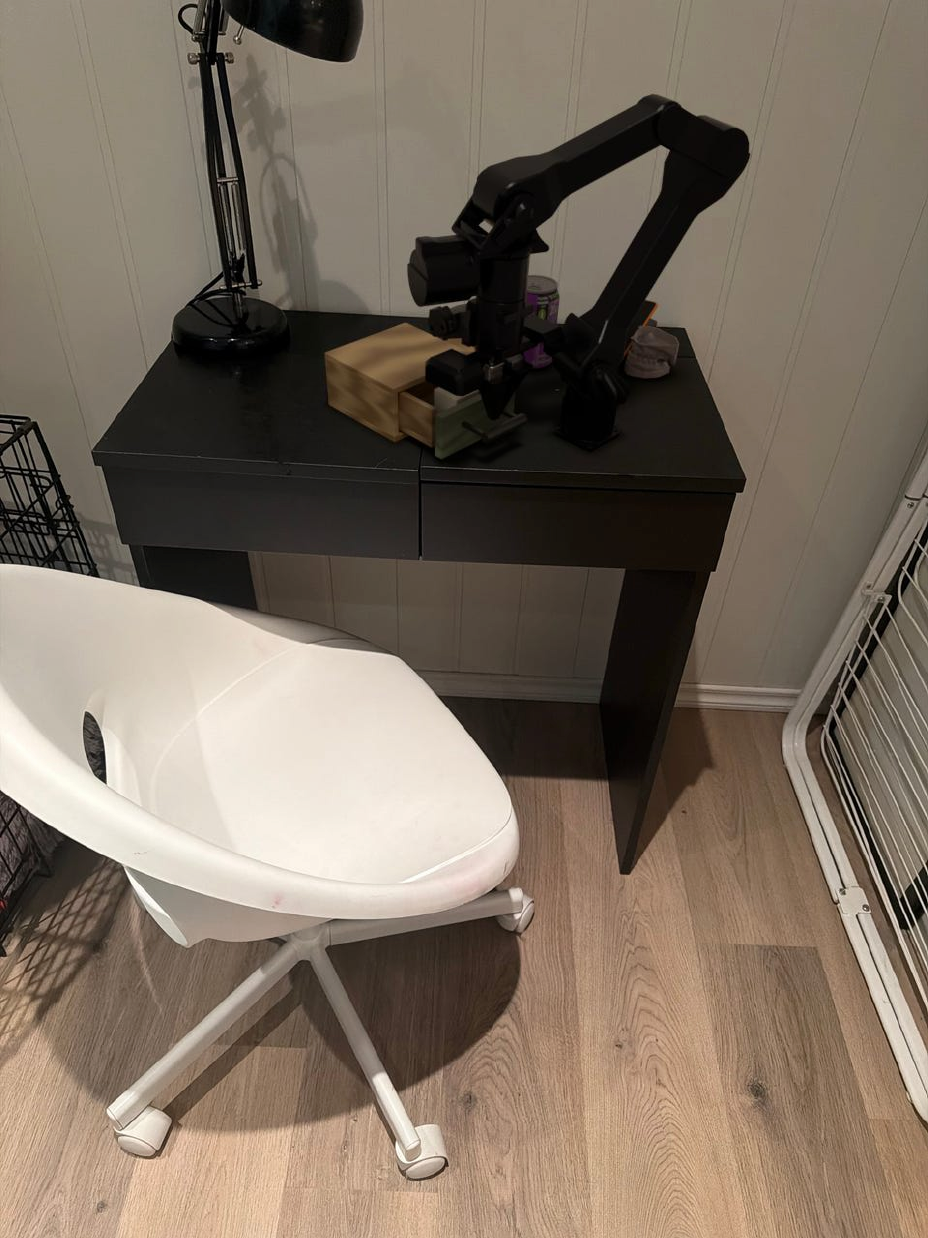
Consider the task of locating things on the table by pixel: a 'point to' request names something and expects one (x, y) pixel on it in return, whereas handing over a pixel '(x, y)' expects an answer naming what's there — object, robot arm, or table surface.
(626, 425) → the table surface
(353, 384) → the cabinet
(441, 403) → the block
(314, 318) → the table surface
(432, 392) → the drawer
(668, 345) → the dental mold
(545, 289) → the beverage can
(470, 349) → the coaster
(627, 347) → the smartphone
